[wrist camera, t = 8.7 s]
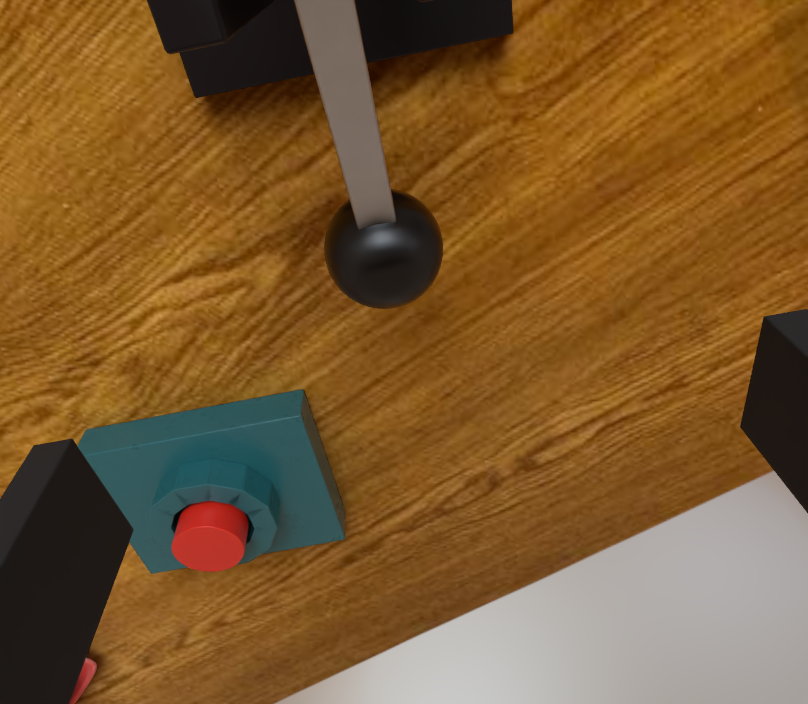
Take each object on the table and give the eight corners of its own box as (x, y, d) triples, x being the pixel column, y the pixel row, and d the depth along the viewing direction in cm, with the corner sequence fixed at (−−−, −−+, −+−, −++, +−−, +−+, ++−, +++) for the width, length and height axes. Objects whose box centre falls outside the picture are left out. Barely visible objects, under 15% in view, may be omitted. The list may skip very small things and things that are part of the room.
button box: (303, 388, 32) (298, 440, 28) (345, 510, 37) (345, 565, 34) (85, 429, 32) (56, 484, 29) (160, 544, 38) (142, 601, 35)
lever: (435, 231, 21) (455, 319, 19) (333, 251, 21) (343, 339, 19) (374, -335, 9) (411, -246, 7) (145, -284, 9) (126, -185, 7)
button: (236, 494, 31) (230, 521, 29) (257, 537, 33) (253, 565, 31) (168, 506, 31) (159, 534, 29) (194, 549, 33) (187, 577, 31)
